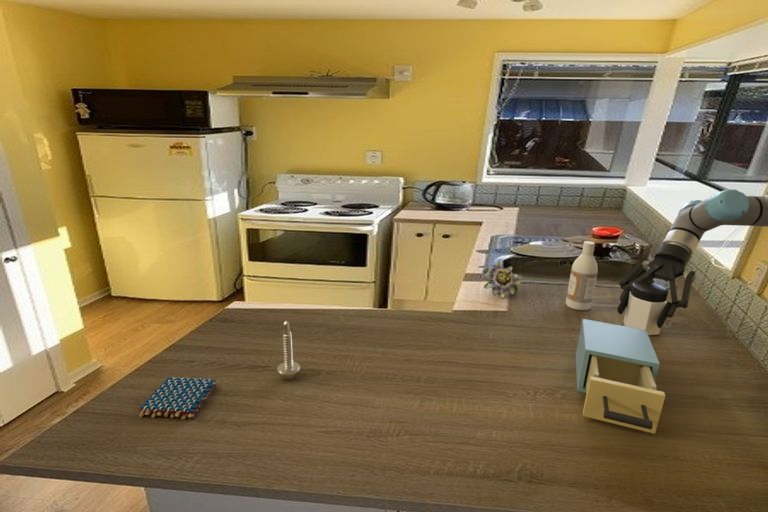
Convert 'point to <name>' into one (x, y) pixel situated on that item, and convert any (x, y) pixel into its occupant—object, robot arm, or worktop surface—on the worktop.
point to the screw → (288, 356)
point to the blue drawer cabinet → (613, 347)
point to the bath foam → (582, 279)
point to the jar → (645, 306)
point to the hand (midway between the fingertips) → (638, 318)
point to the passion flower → (501, 280)
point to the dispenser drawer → (622, 394)
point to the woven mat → (178, 397)
